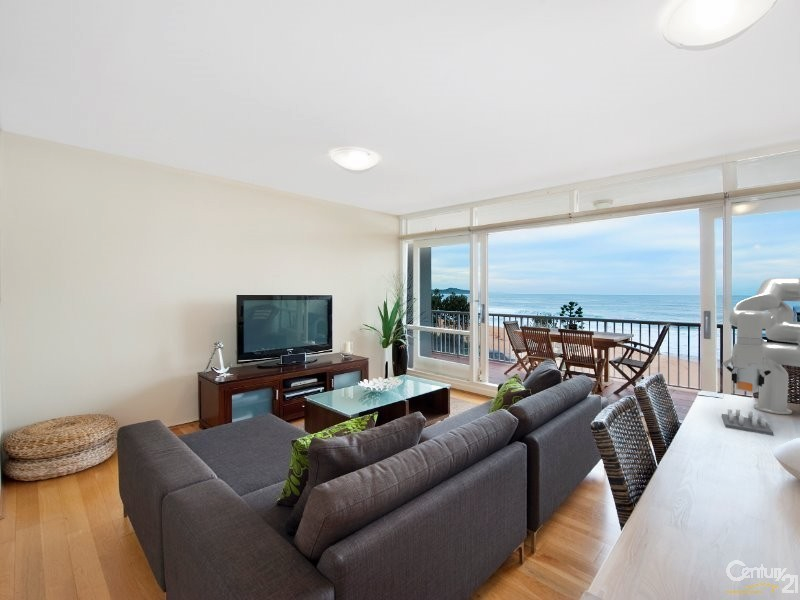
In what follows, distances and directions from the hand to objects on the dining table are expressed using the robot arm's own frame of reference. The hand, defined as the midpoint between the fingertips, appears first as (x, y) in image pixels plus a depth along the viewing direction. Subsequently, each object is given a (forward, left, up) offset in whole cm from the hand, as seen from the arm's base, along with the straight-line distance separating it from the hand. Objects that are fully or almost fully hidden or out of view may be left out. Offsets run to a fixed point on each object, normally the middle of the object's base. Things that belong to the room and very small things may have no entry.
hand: (747, 383), depth 155 cm
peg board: (0, 0, -17) cm, 17 cm away
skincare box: (0, 0, -3) cm, 3 cm away
